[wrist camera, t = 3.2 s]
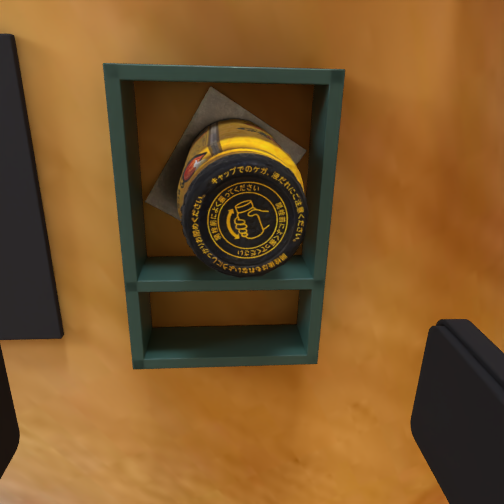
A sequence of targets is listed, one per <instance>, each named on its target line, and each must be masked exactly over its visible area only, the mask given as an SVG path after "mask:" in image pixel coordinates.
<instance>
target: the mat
mask: <svg viewBox="0 0 504 504" xmlns="http://www.w3.org/2000/svg"><path fill="white" fill-rule="evenodd" d="M63 335H64V332H63V326H62V320H61V314H60V308H59V302H58V296H57V290H56V284H55V278H54V272H53V266H52V260H51V254H50V248H49V242H48V236H47V230H46V224H45V218H44V212H43V206H42V200H41V194H40V188H39V182H38V176H37V170H36V164H35V158H34V152H33V146H32V140H31V134H30V128H29V122H28V116H27V110H26V104H25V98H24V92H23V86H22V80H21V74H20V68H19V62H18V56H17V50H16V44H15V37H14V35H12V34H0V340H19V339H61V338H62V337H63Z"/></svg>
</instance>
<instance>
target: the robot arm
mask: <svg viewBox="0 0 504 504" xmlns="http://www.w3.org/2000/svg"><path fill="white" fill-rule="evenodd" d="M411 431H412V435H413V437H414V439H415V441H416V443H417V445H418V447H419V448H420V450H421V452H422V454H423V456H424V458H425V459H426V461H427V463H428V465H429V467H430V469H431V471H432V472H433V474H434V476H435V478H436V480H437V482H438V483H439V485H440V487H441V489H442V491H443V493H444V494H445V496H446V498H447V500H448V502H449V504H504V353H503V352H502V351H501V350H500V349H499V348H498V347H497V346H496V345H494V344H493V343H492V342H491V341H490V340H489V339H488V338H487V337H486V336H485V335H484V334H483V333H482V332H481V331H480V330H479V329H478V328H477V327H476V326H475V325H474V324H472V323H471V322H470V321H469V320H467V319H441V320H439V321H438V322H437V324H436V326H432V327H431V328H430V329H429V332H428V337H427V342H426V347H425V352H424V357H423V362H422V366H421V371H420V376H419V381H418V386H417V391H416V396H415V401H414V406H413V411H412V416H411ZM19 438H20V433H19V427H18V423H17V418H16V413H15V409H14V404H13V400H12V395H11V391H10V386H9V382H8V377H7V373H6V368H5V364H4V359H3V355H2V350H1V345H0V479H1V477H2V475H3V473H4V472H5V470H6V468H7V466H8V464H9V463H10V461H11V459H12V457H13V455H14V454H15V452H16V450H17V447H18V444H19Z"/></svg>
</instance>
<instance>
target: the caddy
mask: <svg viewBox="0 0 504 504" xmlns="http://www.w3.org/2000/svg"><path fill="white" fill-rule="evenodd" d="M103 70H104V80H105V90H106V101H107V111H108V121H109V131H110V141H111V151H112V161H113V171H114V181H115V191H116V201H117V212H118V222H119V232H120V242H121V252H122V262H123V272H124V282H125V292H126V302H127V312H128V323H129V333H130V343H131V353H132V363H133V369H160V368H194V367H228V366H262V365H296V364H317V361H318V350H319V340H320V329H321V319H322V308H323V297H324V287H325V276H326V266H327V255H328V245H329V234H330V224H331V213H332V203H333V192H334V182H335V171H336V161H337V150H338V140H339V129H340V119H341V108H342V98H343V87H344V77H345V69H312V68H273V67H235V66H196V65H158V64H119V63H103ZM134 81H171V82H215V83H259V84H302V85H314V90H313V104H312V118H311V132H310V146H309V160H308V174H307V188H306V199H307V201H306V202H307V205H308V212H309V216H308V223H307V226H306V234H305V237H304V239H303V245H302V255H293V256H292V257H291V258H290V259H289V260H288V261H287V262H286V263H285V264H284V265H281V266H279V267H278V268H276V269H274V270H272V271H270V272H268V273H266V274H265V275H263V276H255V277H244V278H239V277H233V276H228V275H225V274H222V273H220V272H218V271H216V270H214V269H212V268H210V267H209V266H207V265H206V264H205V263H204V262H202V261H201V260H200V259H199V258H198V257H197V256H166V257H147V251H146V237H145V224H144V211H143V198H142V184H141V171H140V158H139V145H138V131H137V118H136V105H135V92H134ZM243 290H299V301H298V315H297V324H294V325H248V326H203V327H157V328H152V317H151V304H150V292H179V291H243Z"/></svg>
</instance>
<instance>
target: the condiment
mask: <svg viewBox="0 0 504 504" xmlns="http://www.w3.org/2000/svg"><path fill="white" fill-rule="evenodd" d="M306 151H307V150H305V149H304V148H302V147H301V146H299V145H298V144H296V143H295V142H293V141H292V140H290V139H289V138H287V137H286V136H284V135H283V134H281V133H280V132H278V131H277V130H275V129H274V128H272V127H271V126H269V125H268V124H266V123H265V122H263V121H262V120H260V119H259V118H257V117H256V116H254V115H253V114H251V113H250V112H248V111H247V110H245V109H244V108H242V107H241V106H239V105H238V104H237V103H235V102H233V101H232V100H230V99H229V98H227V97H226V96H224V95H223V94H221V93H220V92H218V91H217V90H216V89H214V88H213V87H211V86H210V88H209V90H208V91H207V93H206V95H205V97H204V99H203V100H202V102H201V104H200V106H199V107H198V109H197V111H196V113H195V114H194V116H193V118H192V120H191V121H190V123H189V125H188V127H187V128H186V130H185V132H184V134H183V136H182V137H181V139H180V141H179V143H178V144H177V146H176V147H175V150H174V151H173V153H172V155H171V157H170V158H169V160H168V162H167V164H166V165H165V167H164V169H163V171H162V173H161V174H160V176H159V178H158V180H157V181H156V183H155V185H154V187H153V188H152V190H151V192H150V194H149V195H148V197H147V199H146V201H145V202H147V203H148V204H150V205H152V206H154V207H156V208H158V209H160V210H162V211H164V212H166V213H167V214H169V215H171V216H173V217H175V218H177V219H178V220H180V221H181V225H182V226H183V234H184V236H185V237H186V240H187V244H188V245H189V247H190V248H192V250H193V252H194V254H196V256H197V257H198V258H199V259H200V260H201V261H202V262H204V263H205V264H206V265H207V266H209V267H210V268H212V269H214V270H216V271H218V272H220V273H222V274H225V275H228V276H233V277H239V278H244V277H255V276H263V275H265V274H266V273H268V272H270V271H272V270H274V269H276V268H278V267H279V266H281V265H284V264H285V263H286V262H287V261H288V260H289V259H290V258H291V257H292V256H293V254H294V253H295V252H296V250H297V249H298V248H299V246H300V244H301V243H302V241H303V239H304V237H305V234H306V226H307V223H308V216H309V212H308V205H307V202H306V201H307V199H306V197H305V193H304V186H303V181H302V178H301V174H300V172H299V170H298V168H297V166H296V165H297V164H298V162H299V161H300V159H301V158H302V157H303V155H304V154H305V153H306Z"/></svg>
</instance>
